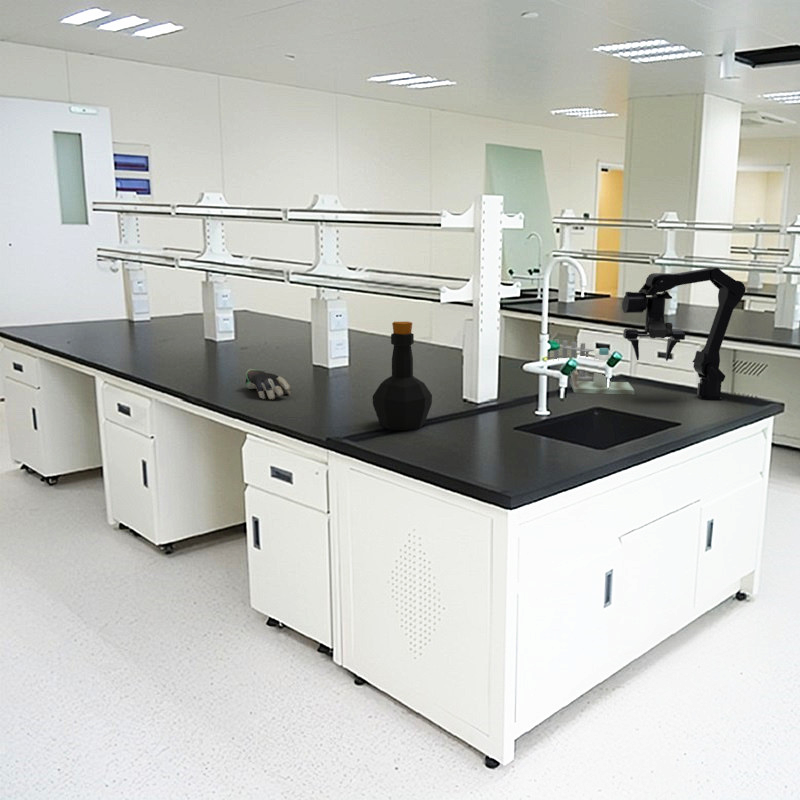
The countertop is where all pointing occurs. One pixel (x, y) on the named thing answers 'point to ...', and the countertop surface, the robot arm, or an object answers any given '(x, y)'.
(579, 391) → the shelf board
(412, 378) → the bottle
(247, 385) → the glove
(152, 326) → the countertop surface
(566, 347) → the test tube rack
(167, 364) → the countertop surface
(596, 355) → the white bottle
